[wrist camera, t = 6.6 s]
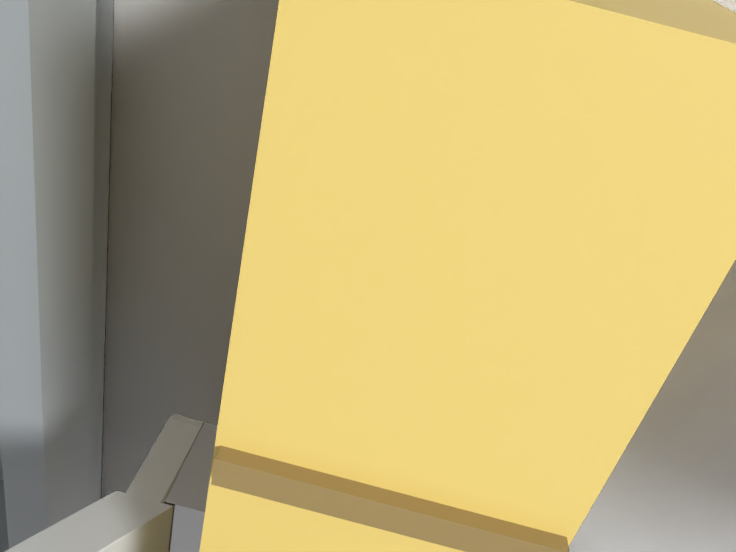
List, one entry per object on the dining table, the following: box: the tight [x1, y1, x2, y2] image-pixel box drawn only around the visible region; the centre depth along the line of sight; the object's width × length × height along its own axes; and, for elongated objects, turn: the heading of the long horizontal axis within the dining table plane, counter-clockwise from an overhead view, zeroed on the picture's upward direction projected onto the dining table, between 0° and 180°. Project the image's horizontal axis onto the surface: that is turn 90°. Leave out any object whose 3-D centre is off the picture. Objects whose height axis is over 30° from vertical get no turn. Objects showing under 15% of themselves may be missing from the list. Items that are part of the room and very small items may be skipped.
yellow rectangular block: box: [199, 0, 736, 552], centre depth 8 cm, size 10×3×5 cm, turn 167°
